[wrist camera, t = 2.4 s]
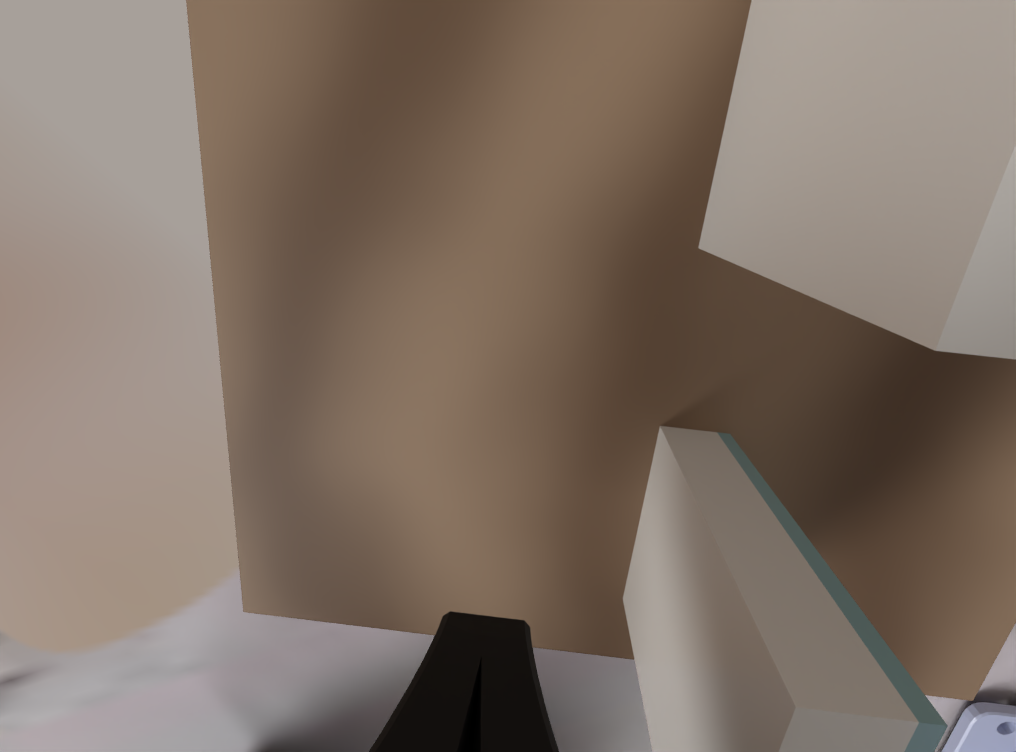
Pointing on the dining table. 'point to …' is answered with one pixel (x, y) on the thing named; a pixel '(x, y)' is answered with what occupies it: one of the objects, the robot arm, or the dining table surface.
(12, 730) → the dining table surface
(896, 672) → the tile
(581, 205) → the board
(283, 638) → the dining table surface
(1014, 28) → the tile
